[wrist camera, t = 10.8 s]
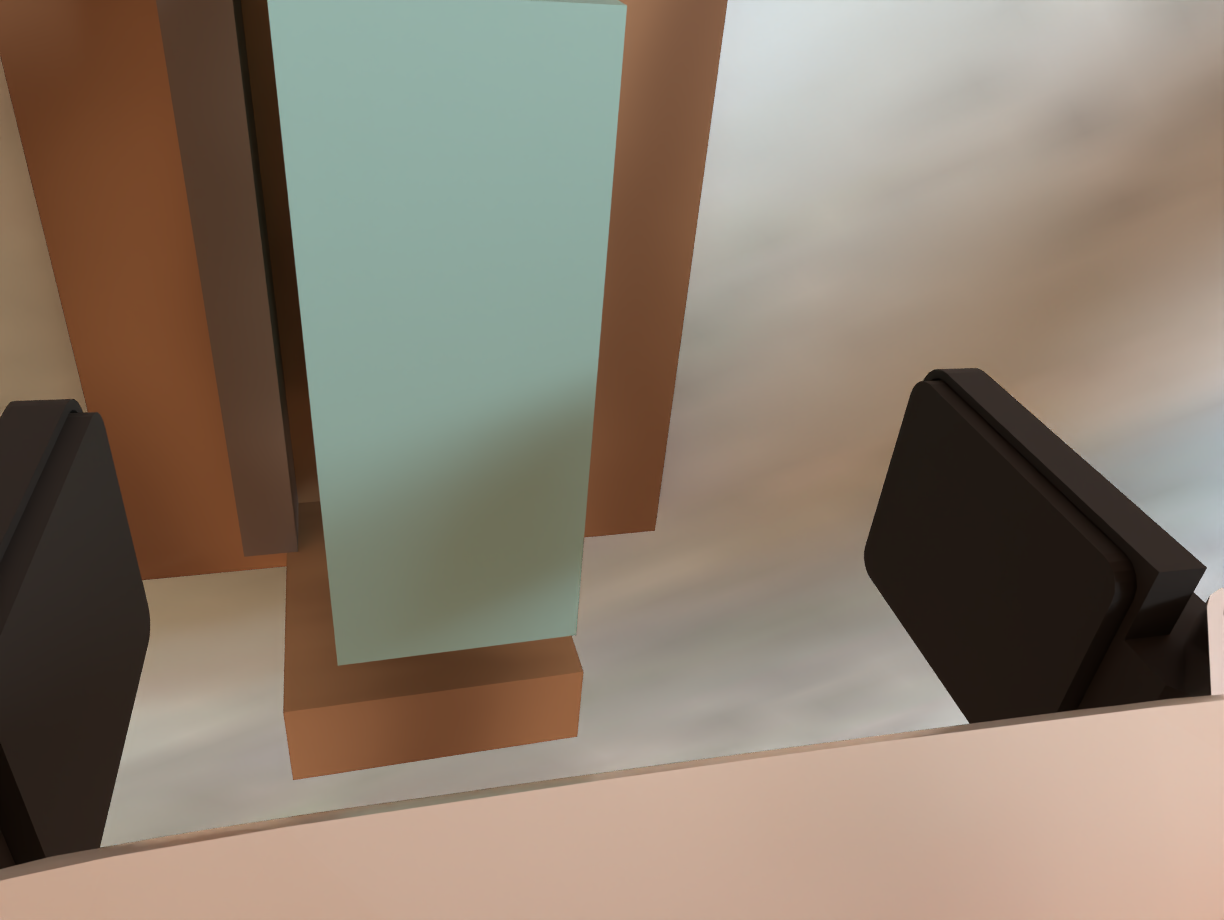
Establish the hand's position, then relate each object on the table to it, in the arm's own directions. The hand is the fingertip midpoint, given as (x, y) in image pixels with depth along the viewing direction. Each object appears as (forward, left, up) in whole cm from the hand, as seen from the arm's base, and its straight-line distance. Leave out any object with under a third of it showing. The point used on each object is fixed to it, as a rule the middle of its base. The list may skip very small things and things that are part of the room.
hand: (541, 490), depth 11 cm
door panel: (+1, 0, -12) cm, 12 cm away
